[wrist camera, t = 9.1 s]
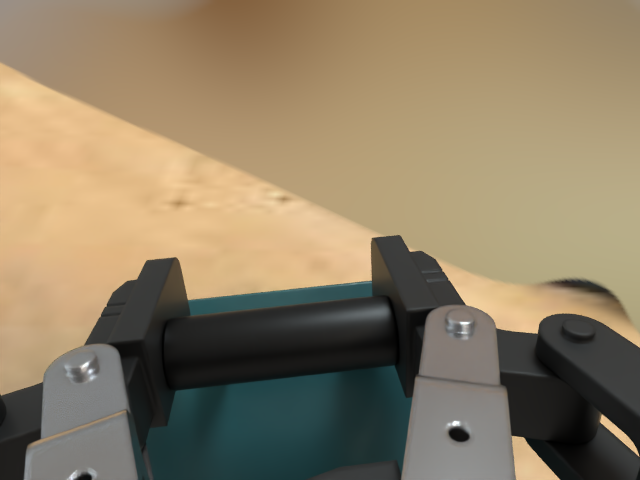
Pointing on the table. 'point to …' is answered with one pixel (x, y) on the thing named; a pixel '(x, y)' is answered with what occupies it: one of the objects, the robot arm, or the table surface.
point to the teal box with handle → (281, 386)
